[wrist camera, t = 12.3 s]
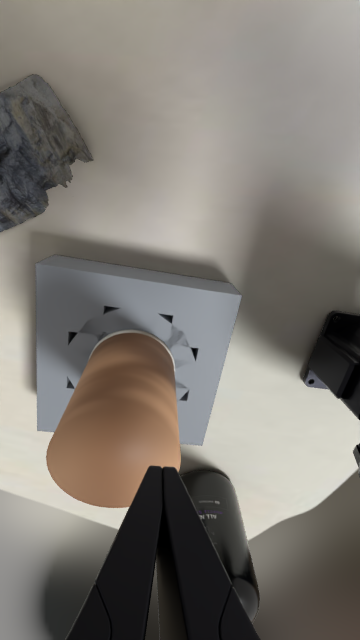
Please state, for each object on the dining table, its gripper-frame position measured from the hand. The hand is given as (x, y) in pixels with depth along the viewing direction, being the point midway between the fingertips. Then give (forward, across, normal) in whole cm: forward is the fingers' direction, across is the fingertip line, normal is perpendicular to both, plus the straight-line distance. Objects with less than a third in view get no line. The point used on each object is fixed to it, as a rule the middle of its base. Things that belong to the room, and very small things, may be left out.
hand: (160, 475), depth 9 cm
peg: (+12, +2, +2) cm, 13 cm away
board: (+13, +2, +2) cm, 13 cm away
